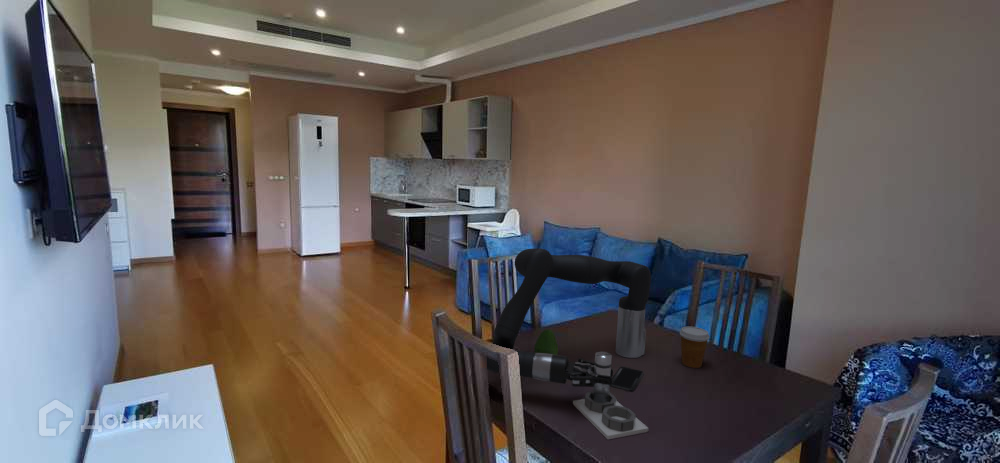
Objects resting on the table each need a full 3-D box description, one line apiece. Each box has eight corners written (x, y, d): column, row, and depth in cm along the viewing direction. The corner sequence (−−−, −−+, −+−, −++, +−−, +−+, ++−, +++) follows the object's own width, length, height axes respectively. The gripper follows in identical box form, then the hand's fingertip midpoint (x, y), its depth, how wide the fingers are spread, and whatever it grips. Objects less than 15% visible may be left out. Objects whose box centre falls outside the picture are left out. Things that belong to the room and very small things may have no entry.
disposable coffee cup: (676, 366, 161) (679, 333, 160) (677, 356, 170) (680, 324, 168) (706, 372, 158) (710, 337, 156) (706, 361, 167) (709, 328, 165)
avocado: (557, 359, 164) (558, 326, 162) (557, 369, 156) (559, 334, 155) (534, 358, 165) (535, 324, 163) (533, 367, 157) (534, 333, 155)
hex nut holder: (609, 398, 138) (610, 386, 138) (648, 431, 121) (649, 419, 121) (572, 404, 134) (573, 392, 134) (607, 439, 117) (608, 426, 117)
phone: (608, 383, 146) (620, 365, 159) (607, 387, 146) (620, 369, 159) (633, 390, 142) (644, 371, 155) (633, 393, 142) (644, 374, 155)
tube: (602, 397, 134) (606, 350, 132) (611, 405, 130) (615, 357, 128) (588, 399, 133) (592, 352, 131) (597, 407, 129) (600, 359, 127)
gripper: (546, 365, 127) (612, 375, 122) (555, 345, 140) (614, 354, 136) (545, 391, 128) (610, 402, 123) (553, 369, 142) (612, 378, 137)
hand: (612, 376), depth 130 cm, fingers closed on tube, 4 cm apart
